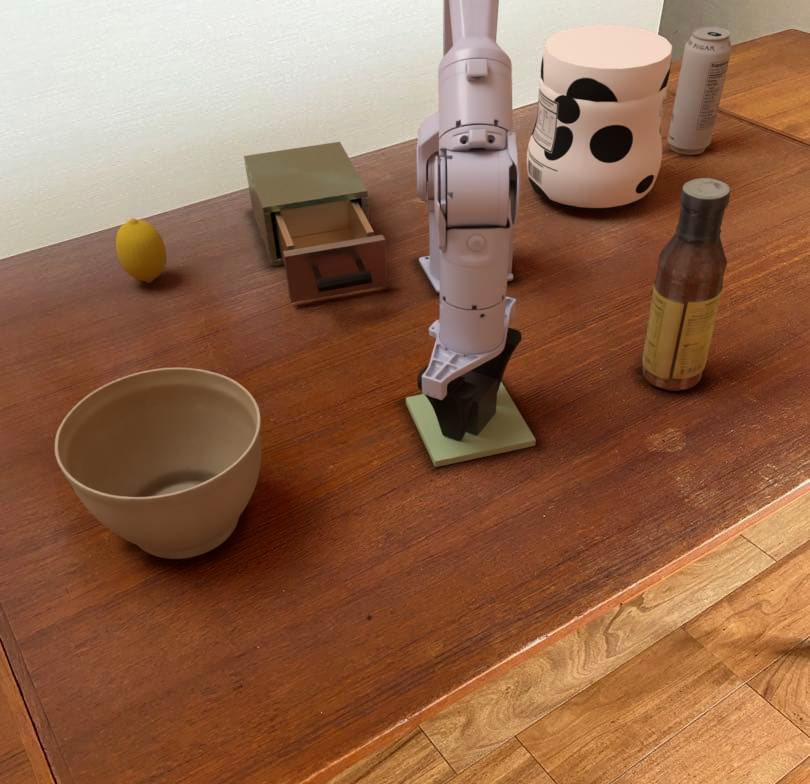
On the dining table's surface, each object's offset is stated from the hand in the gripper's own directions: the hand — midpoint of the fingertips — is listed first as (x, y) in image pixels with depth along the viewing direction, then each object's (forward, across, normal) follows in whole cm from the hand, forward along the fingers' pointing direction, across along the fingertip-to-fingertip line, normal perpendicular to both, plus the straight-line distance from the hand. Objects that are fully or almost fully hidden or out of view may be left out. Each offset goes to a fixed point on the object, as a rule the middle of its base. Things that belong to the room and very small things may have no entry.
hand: (468, 416), depth 84 cm
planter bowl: (+1, +24, -16) cm, 28 cm away
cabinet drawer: (0, -16, -27) cm, 31 cm away
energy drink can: (+1, -70, -1) cm, 70 cm away
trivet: (+1, 0, 0) cm, 1 cm away
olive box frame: (+1, -24, -36) cm, 44 cm away
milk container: (+1, -51, -8) cm, 51 cm away
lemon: (+1, -5, -46) cm, 46 cm away
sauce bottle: (+1, -17, +14) cm, 22 cm away
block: (0, 0, 0) cm, 0 cm away
